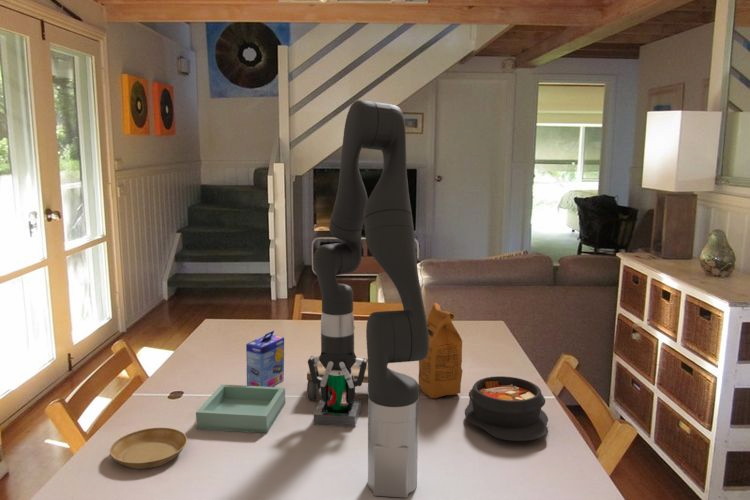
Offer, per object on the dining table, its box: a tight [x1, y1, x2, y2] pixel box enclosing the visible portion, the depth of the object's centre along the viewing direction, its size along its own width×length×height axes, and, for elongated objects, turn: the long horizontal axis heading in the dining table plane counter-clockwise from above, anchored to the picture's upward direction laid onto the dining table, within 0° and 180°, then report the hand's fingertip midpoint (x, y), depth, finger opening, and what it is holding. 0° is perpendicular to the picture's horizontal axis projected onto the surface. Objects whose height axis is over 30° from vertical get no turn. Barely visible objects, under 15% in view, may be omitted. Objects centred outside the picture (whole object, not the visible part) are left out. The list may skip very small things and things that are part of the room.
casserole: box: [464, 375, 549, 442], centre depth 142 cm, size 25×19×8 cm
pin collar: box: [313, 398, 362, 428], centre depth 145 cm, size 9×9×2 cm
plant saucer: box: [109, 427, 188, 470], centre depth 127 cm, size 15×15×3 cm
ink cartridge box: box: [245, 330, 285, 387], centre depth 163 cm, size 10×6×14 cm, turn 152°
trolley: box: [306, 358, 368, 401], centre depth 158 cm, size 14×18×7 cm
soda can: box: [326, 369, 350, 414], centre depth 144 cm, size 5×5×12 cm
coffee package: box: [418, 302, 463, 399], centre depth 159 cm, size 10×12×22 cm
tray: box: [195, 384, 286, 434], centre depth 145 cm, size 16×16×4 cm
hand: (338, 401), depth 144 cm, fingers closed on soda can, 5 cm apart
